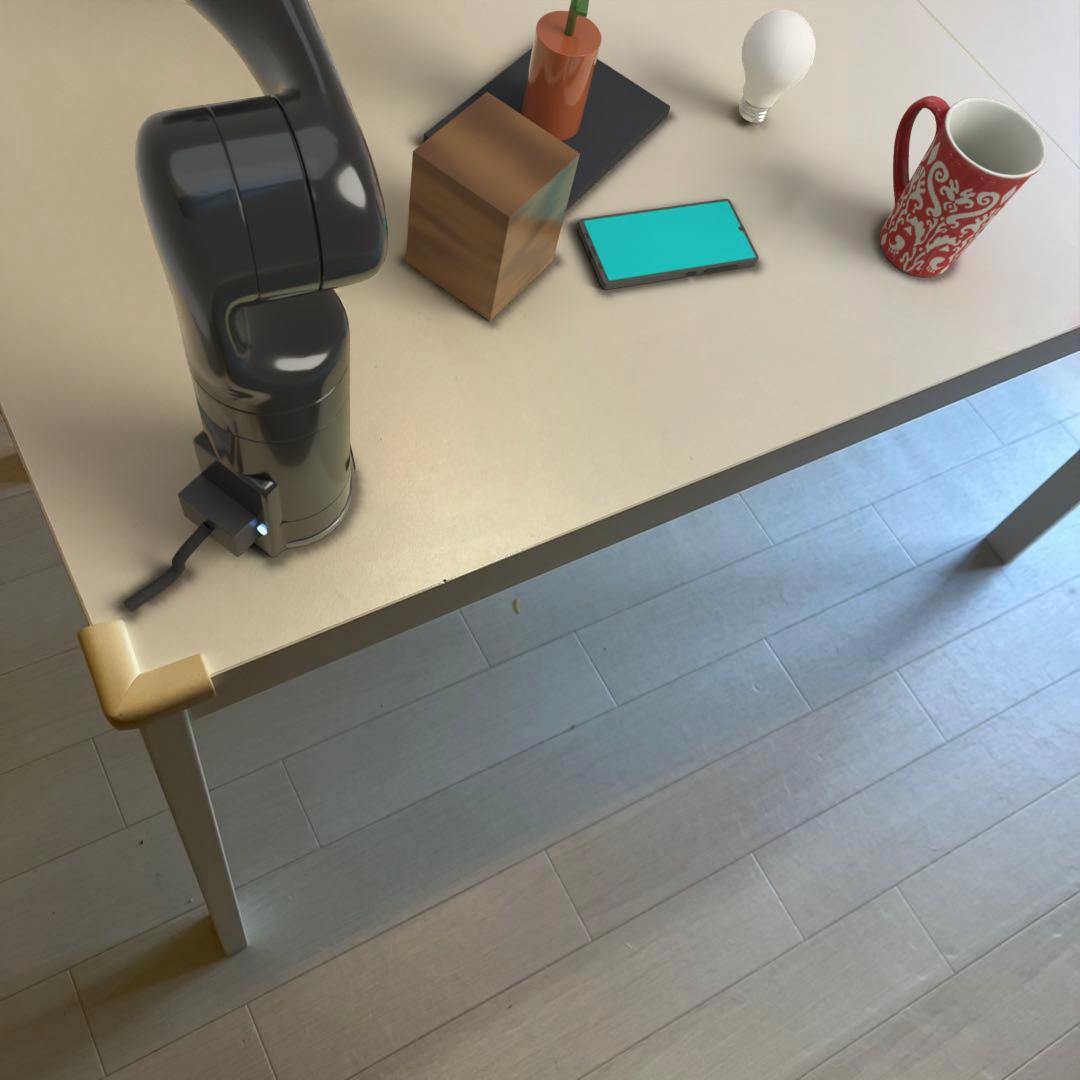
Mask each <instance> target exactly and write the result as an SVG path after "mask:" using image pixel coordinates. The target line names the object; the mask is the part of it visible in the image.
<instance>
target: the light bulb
mask: <svg viewBox="0 0 1080 1080" xmlns="http://www.w3.org/2000/svg"><path fill="white" fill-rule="evenodd" d="M816 41H817V40H816V36H815V33H814V30H813V28H812V26H811V24H810V23H809V22H808V20H806V18H805V17H803V15H801V14H799V13H798V12H795V11H792V10H788V9H777V10H772V11H769V12H767V13H764V14H763V15H762V16H760V17H759V18H757V19H756V20H755V21H754V22H753V23H752V24H751V26H750V27H749V29H748V30H747V32H746V34H745V36H744V39H743V41H742V46H741V63H742V66H743V72H744V77H745V81H744V85H743V87H742V96H741V99H740V101H739V104H738V113H739V114H740V116H741V117H742V118H743V119H744V120H745V121H748V122H750V123H754V124H755V123H756V124H758V123H762V122H763V121H765V120H766V119H767V117H768V115H769V112H770V111H771V108H772V106H773V105H774V104H775V103H776V102H777V100H778V99H779V97H780V95H782V94H783V93H784V92H785V91H787V90H788V89H790V88H792V87H793V86H795V85H797V84H798V83H799V82H801V80H803V79H804V77H805V76H806V75H807V74H808V72H809V71H810V69H811V68H812V66H813V63H814V60H815V56H816V51H817V43H816Z"/></svg>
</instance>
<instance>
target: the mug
mask: <svg viewBox="0 0 1080 1080" xmlns="http://www.w3.org/2000/svg"><path fill="white" fill-rule="evenodd" d="M923 109H927V110H929V111H930V112H931V113H932V115H933V116H934V121H935V128H936V129H935V133H934V137H933V140H932V141H931V143H930V145H929V147H928V148H927V150H926V152H925V154H924V155H923V158H922V159H921V161H920V163H918V166H917V167H916V169H915V171H914V173H913V174H912V176H911V177H910V145H911V144H910V143H911V136H912V130H913V127H914V124H915V121H916V119H917V117H918V115H919V113H920V112H922V110H923ZM1041 133H1042V132H1041V131H1040V130H1039V129H1038V127H1037V126H1036V125H1035V124H1034V123H1033V122H1032V121H1031V120H1030V119H1029V117H1027V116H1026V115H1025V114H1023V113H1022V111H1019V110H1018V109H1016V108H1015V107H1013V106H1011V105H1010V104H1007V103H1005V102H1003V101H1001V100H997V99H993V98H989V97H980V96H979V97H977V96H975V97H967V98H963V99H961V100H958V101H957V102H955V103H953V104H952V105H951V106H950V105H949V104H948V102H947V101H946V100H945V99H943V98H941V97H940V96H936V95H928V96H923V97H922V98H919V99H918V100H916V101H914V102H913V103H911V104H910V105H909V107H908V108H907V109H906V110H905V112H904V114H903V115H902V117H901V119H900V121H899V123H898V125H897V129H896V132H895V137H894V144H893V156H892V185H893V187H892V188H893V197H894V207H893V208H892V210H891V212H890V214H889V215H888V216H887V218H886V219H885V221H884V223H883V225H882V227H881V229H880V233H879V242H880V246H881V249H882V251H883V253H884V254H885V256H886V258H887V259H888V260H889V261H890V262H891V263H892V264H893V265H894V266H895V267H897V268H898V269H900V270H901V271H903V272H905V273H907V274H909V275H913V276H915V277H920V278H921V277H922V278H932V277H937V276H940V275H943V274H944V273H946V272H947V271H948V270H949V269H950V267H952V265H953V264H954V263H955V262H956V261H958V259H959V258H960V256H961V255H962V254H963V253H964V252H965V250H967V248H968V247H970V245H971V244H972V243H973V242H974V241H975V240H976V238H977V237H979V235H980V234H981V233H982V232H983V231H984V230H985V228H986V227H987V226H988V225H989V224H990V223H991V221H993V219H994V218H995V217H996V216H997V215H998V214H999V213H1000V211H1001V210H1002V209H1003V208H1004V207H1005V206H1006V205H1007V204H1008V202H1009V201H1010V200H1011V199H1012V198H1013V197H1014V196H1015V195H1016V194H1017V192H1018V191H1019V190H1020V189H1021V188H1022V187H1023V185H1025V183H1026V182H1027V181H1028V180H1029V179H1030V178H1031V177H1032V176H1034V175H1035V174H1037V173H1038V172H1039V171H1040V170H1041V169H1042V168H1043V166H1044V164H1045V163H1046V159H1047V145H1046V142H1045V139H1044V137H1043V135H1042V134H1041Z"/></svg>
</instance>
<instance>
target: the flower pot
mask: <svg viewBox="0 0 1080 1080" xmlns="http://www.w3.org/2000/svg"><path fill="white" fill-rule="evenodd" d="M589 3H590V0H570V3H569V9H568V10H555V11H550V12H547V13H546V14H545V13H544V15H542V16H541V17H540V18H539V19H538V21H537V23H536V26H535V30H534V37H533V43H532V48H531V49H532V53H531V59H530V64H529V70H528V75H527V81H526V87H525V92H524V98H523V103H522V109H521V115H523V116H524V117H526V118H527V119H529V120H530V121H532V122H533V123H535V124H536V125H538V126H539V127H541V128H542V129H544V130H545V131H547V132H548V133H550V134H551V135H553V136H554V137H556V138H557V139H559V140H560V141H561V140H566V139H569V138H571V137H573V136H574V135H575V134H576V133H577V132H578V131H579V129H580V125H581V121H582V117H583V113H584V109H585V105H586V101H587V97H588V93H589V89H590V85H591V81H592V77H593V73H594V69H595V65H596V60H597V59H598V56H599V53H600V52H599V51H600V49H601V44H602V34H601V31H600V29H599V28H598V26H597V25H596V24H595V23H594V22H593V21H592V20H591V19H589V18H588V11H589Z"/></svg>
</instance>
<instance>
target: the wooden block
mask: <svg viewBox="0 0 1080 1080" xmlns="http://www.w3.org/2000/svg"><path fill="white" fill-rule="evenodd" d="M579 156H580V153H578V152H577V151H575V150H574V149H572V148H571V147H569V146H568V145H566V144H565V143H563V142H562V141H560V140H559V139H557V138H556V137H554V136H553V135H551V134H550V133H548V132H547V131H545V130H544V129H542V128H541V127H539V126H538V125H536V124H535V123H533V122H532V121H530V120H529V119H527V118H526V117H524V116H523V115H521V114H520V113H518V112H517V111H515V110H514V109H512V108H511V107H509V106H508V105H506V104H505V103H503V102H502V101H500V100H499V99H497V98H496V97H494V96H493V95H491V94H490V93H488V92H486V93H485V94H484V95H483V96H481V97H480V98H479V99H477V100H476V101H475V102H474V103H472V104H471V105H470V106H469V107H467V108H466V109H465V110H464V111H462V112H461V113H460V114H459V115H457V116H456V117H455V118H454V119H452V120H451V121H450V122H449V123H447V124H446V125H445V126H444V127H442V128H441V129H440V130H439V131H437V132H436V133H435V134H434V135H432V136H431V137H430V138H429V139H427V140H426V141H425V142H424V143H423V142H422V143H421V144H420V145H418V146H417V147H416V148H415V149H414V150H412V162H411V173H410V186H409V187H410V188H409V189H410V190H409V205H408V219H407V235H406V247H405V248H406V249H405V263H406V264H408V265H409V266H410V267H412V268H414V269H415V270H416V271H417V272H419V273H420V274H422V275H423V276H424V277H426V278H428V279H429V280H431V281H432V282H433V283H435V284H436V285H438V286H439V287H440V288H441V289H443V290H445V291H446V292H447V293H448V294H450V295H452V296H453V297H455V298H456V299H457V300H459V301H460V302H462V303H463V304H464V305H466V306H467V307H468V308H470V309H471V310H473V311H474V312H476V313H477V314H478V315H480V316H481V317H483V318H484V319H486V320H487V321H489V322H491V321H492V320H494V318H495V317H497V316H498V314H499V313H501V312H502V311H503V310H504V309H505V308H506V307H507V306H509V304H510V303H511V302H512V301H513V300H514V299H515V298H516V297H517V296H518V295H519V294H520V293H521V292H522V291H523V290H525V288H526V287H528V286H529V284H530V283H532V282H533V280H535V279H536V278H537V277H538V276H539V275H540V274H541V273H542V272H543V271H544V270H545V269H546V268H547V267H548V266H549V265H551V263H552V262H553V261H554V259H555V254H556V251H557V247H558V242H559V239H560V235H561V230H562V226H563V222H564V219H565V216H566V212H567V211H566V207H567V203H568V199H569V195H570V191H571V187H572V184H573V180H574V176H575V172H576V168H577V164H578V160H579ZM565 211H566V212H565Z"/></svg>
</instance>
